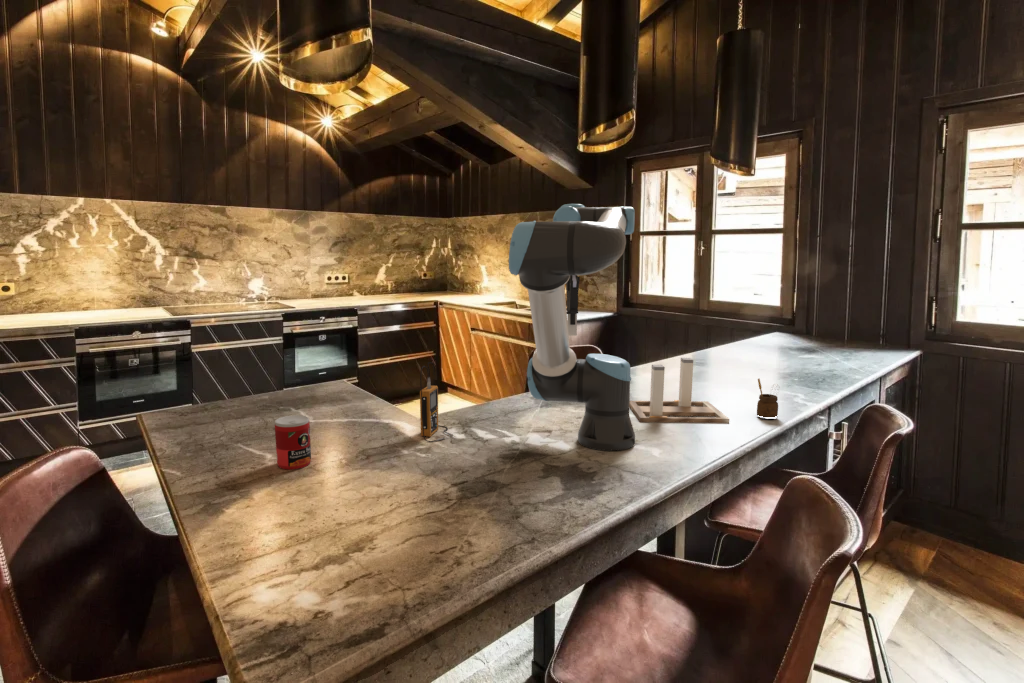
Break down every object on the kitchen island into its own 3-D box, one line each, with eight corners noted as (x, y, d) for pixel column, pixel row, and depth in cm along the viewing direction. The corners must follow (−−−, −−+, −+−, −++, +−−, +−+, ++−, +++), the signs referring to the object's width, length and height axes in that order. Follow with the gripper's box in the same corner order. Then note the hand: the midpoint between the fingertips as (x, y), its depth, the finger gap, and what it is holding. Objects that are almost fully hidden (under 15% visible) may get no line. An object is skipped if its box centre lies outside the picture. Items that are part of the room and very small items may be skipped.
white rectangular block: (652, 419, 171) (654, 366, 168) (649, 416, 174) (651, 364, 172) (662, 419, 171) (664, 367, 168) (659, 416, 174) (661, 364, 172)
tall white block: (681, 409, 182) (683, 359, 180) (678, 406, 186) (680, 357, 183) (690, 409, 182) (693, 359, 180) (687, 406, 186) (690, 357, 183)
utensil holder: (774, 421, 174) (777, 383, 172) (753, 418, 177) (755, 380, 176) (779, 417, 178) (782, 379, 176) (758, 413, 182) (760, 376, 180)
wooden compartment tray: (639, 425, 169) (640, 416, 168) (627, 407, 189) (628, 399, 188) (728, 426, 168) (729, 417, 168) (707, 408, 188) (707, 400, 188)
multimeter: (451, 444, 152) (450, 370, 149) (415, 441, 154) (414, 368, 151) (466, 427, 166) (466, 360, 163) (433, 425, 168) (432, 358, 165)
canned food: (291, 472, 132) (289, 426, 130) (269, 465, 136) (267, 420, 134) (318, 462, 138) (316, 418, 137) (297, 456, 143) (294, 413, 141)
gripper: (588, 256, 166) (587, 337, 168) (582, 257, 179) (581, 333, 181) (562, 256, 166) (561, 337, 168) (558, 258, 179) (557, 333, 181)
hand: (572, 335), depth 175 cm, fingers closed
